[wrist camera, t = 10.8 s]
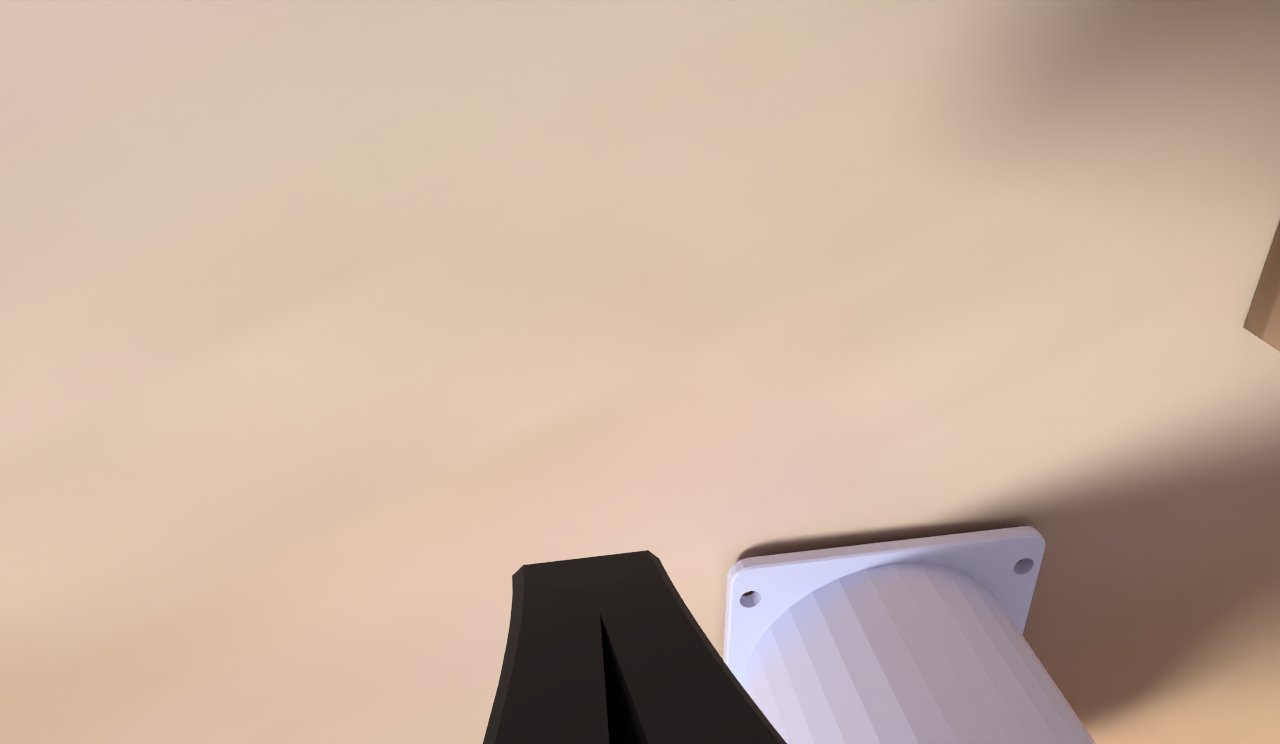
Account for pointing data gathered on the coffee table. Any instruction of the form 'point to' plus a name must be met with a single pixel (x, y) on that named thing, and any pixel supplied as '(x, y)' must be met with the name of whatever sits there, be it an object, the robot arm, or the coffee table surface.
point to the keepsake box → (1267, 299)
